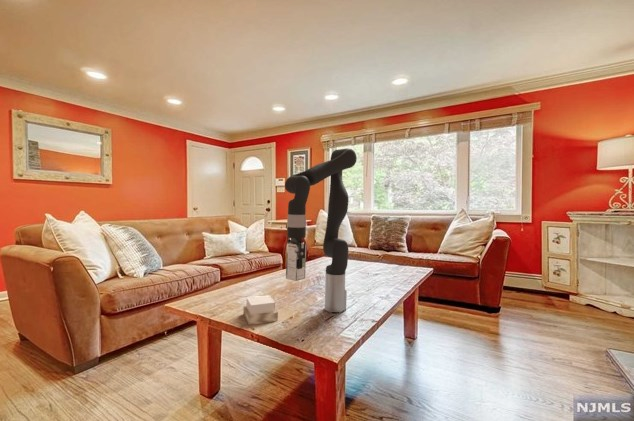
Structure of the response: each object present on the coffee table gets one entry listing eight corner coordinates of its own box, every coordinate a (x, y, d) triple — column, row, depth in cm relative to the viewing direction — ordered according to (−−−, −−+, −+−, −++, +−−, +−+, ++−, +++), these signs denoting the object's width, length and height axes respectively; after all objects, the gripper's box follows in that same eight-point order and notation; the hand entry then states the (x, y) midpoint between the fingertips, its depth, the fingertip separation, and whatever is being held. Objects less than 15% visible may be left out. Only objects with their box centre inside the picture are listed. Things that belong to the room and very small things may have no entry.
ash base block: (270, 311, 129) (270, 302, 129) (277, 321, 118) (277, 312, 118) (243, 315, 124) (243, 306, 124) (248, 326, 113) (248, 316, 113)
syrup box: (295, 276, 118) (295, 241, 118) (305, 278, 114) (306, 243, 114) (285, 278, 114) (286, 243, 113) (296, 281, 110) (296, 244, 110)
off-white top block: (268, 303, 128) (269, 294, 128) (275, 311, 119) (275, 302, 118) (246, 306, 123) (246, 297, 123) (251, 315, 114) (251, 305, 114)
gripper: (312, 227, 109) (311, 269, 109) (298, 224, 121) (297, 262, 122) (294, 227, 105) (293, 271, 106) (281, 224, 118) (281, 263, 119)
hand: (295, 266), depth 114 cm, fingers closed on syrup box, 7 cm apart
